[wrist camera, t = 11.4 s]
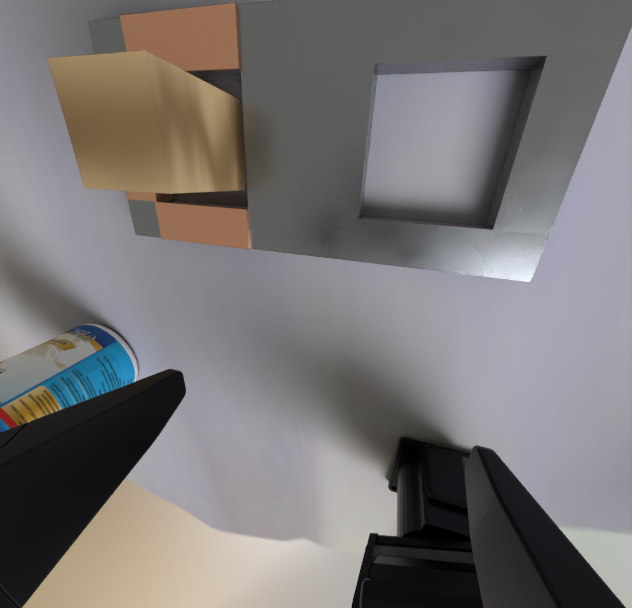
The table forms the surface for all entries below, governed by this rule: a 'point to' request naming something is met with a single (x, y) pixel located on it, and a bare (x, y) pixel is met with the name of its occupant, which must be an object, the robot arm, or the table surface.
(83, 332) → the beverage bottle
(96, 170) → the wooden block
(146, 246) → the table surface
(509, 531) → the robot arm
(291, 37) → the rail frame
